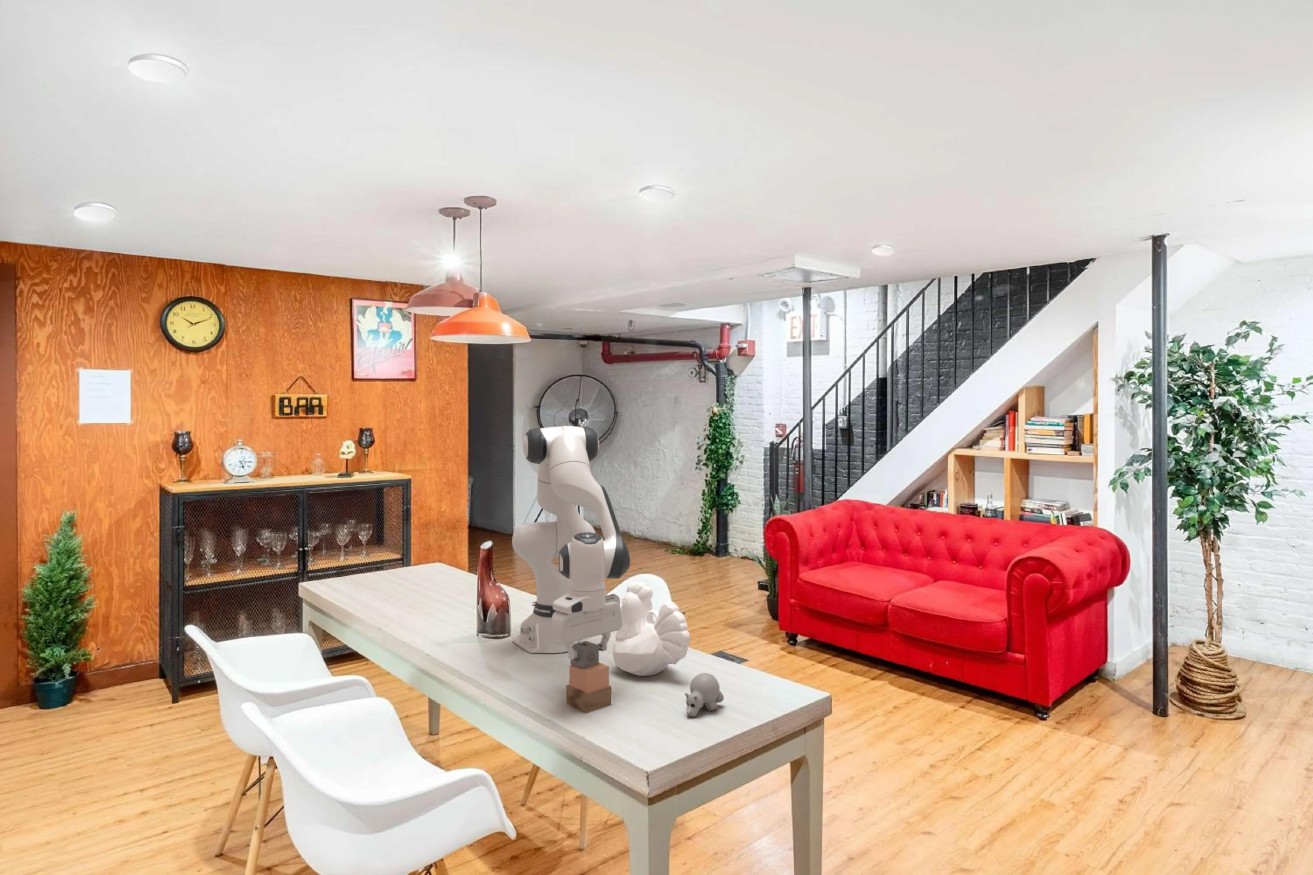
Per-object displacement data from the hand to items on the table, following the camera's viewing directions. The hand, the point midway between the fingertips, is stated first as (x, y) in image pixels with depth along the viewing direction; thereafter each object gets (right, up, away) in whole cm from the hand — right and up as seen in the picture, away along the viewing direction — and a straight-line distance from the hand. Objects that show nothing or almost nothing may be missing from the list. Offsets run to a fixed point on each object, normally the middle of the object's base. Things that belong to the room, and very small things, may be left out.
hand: (587, 654), depth 190 cm
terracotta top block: (0, -8, 0) cm, 8 cm away
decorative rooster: (+15, -12, +22) cm, 29 cm away
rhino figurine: (+28, -13, -3) cm, 31 cm away
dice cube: (-1, -3, +1) cm, 3 cm away
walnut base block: (0, -13, 0) cm, 13 cm away
